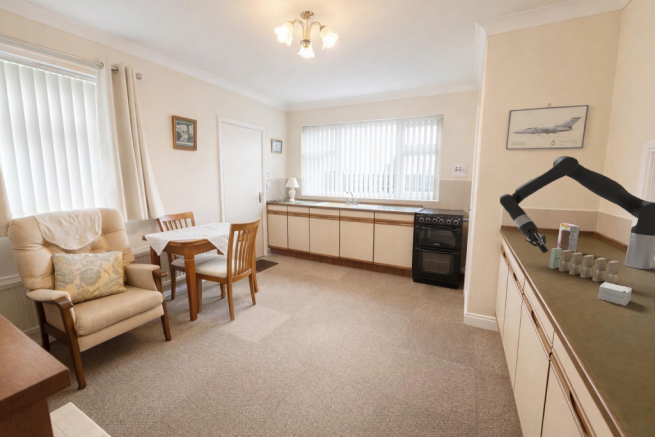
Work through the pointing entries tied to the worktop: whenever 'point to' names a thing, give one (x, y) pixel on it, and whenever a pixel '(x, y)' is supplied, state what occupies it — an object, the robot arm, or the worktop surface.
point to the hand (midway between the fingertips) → (546, 252)
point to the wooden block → (564, 240)
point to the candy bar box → (570, 235)
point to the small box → (615, 293)
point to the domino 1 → (555, 258)
